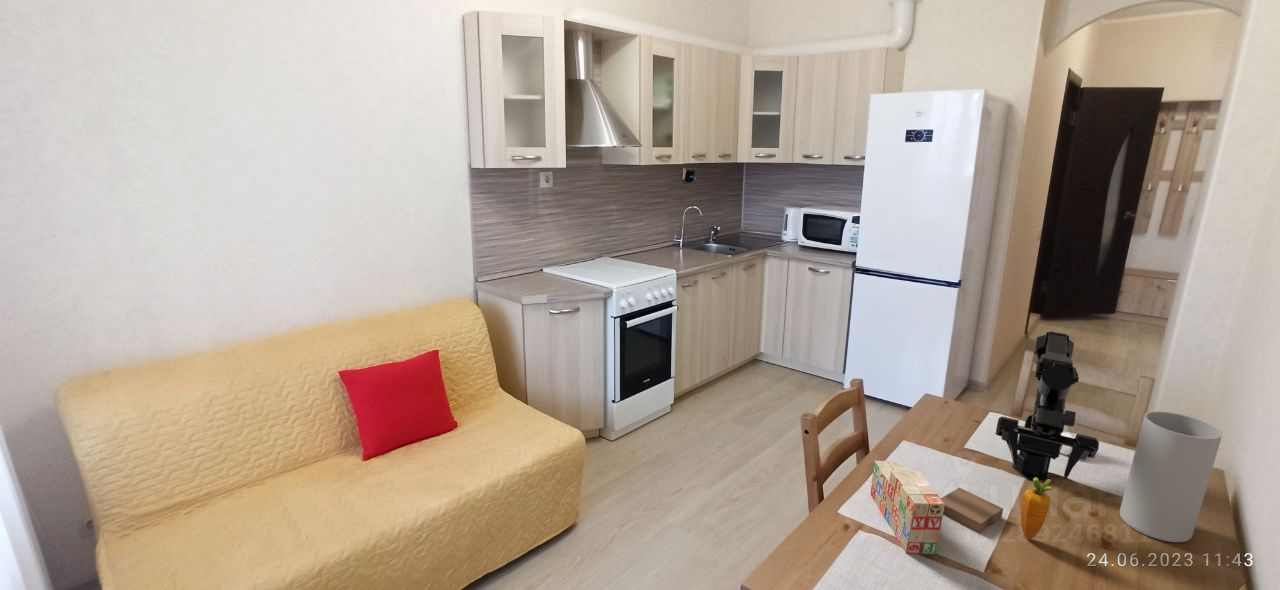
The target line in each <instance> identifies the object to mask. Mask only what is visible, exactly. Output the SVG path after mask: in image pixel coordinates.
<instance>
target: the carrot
mask: <svg viewBox="0 0 1280 590" xmlns="http://www.w3.org/2000/svg"><path fill="white" fill-rule="evenodd" d="M1032 481H1033V489H1032V488H1031V489H1026V490H1025V492H1024V494H1023V496H1022V502H1021V508H1020V509H1021V510H1020V525H1021V529H1022V532H1023V534H1024V537H1025V538H1026V539H1027V541H1030V540H1032V539H1033V538H1035V537H1036V536H1037V535H1038V534H1039V533H1040V531H1041V529H1042V527H1043V525H1044V523H1045V521H1046V519H1047V515H1048V513H1049V508H1050V505H1051V497H1050V496H1049V495H1048V494H1047V493H1045V492H1047V491H1052V490H1053V487H1052V486H1048V485H1049V484H1050V483H1051V482H1052V479H1046V480H1045V482H1044V483H1043V485H1042V486H1041V483H1040V479H1038V478H1036V477H1035V478H1033V479H1032Z"/></svg>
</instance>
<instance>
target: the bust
mask: <svg viewBox="0 0 1280 590" xmlns="http://www.w3.org/2000/svg"><path fill="white" fill-rule="evenodd" d="M1070 427H1071V426H1066V425H1064V430H1063V433H1061V436H1066V437H1070V438H1074V439H1075V437H1076V435H1075V434H1074V433H1072V432H1070V431H1069V428H1070ZM1071 428H1072V427H1071ZM1071 451H1072V447H1070V446H1066V445H1062V447H1061V450H1060V454H1061V455H1065V456H1068V455H1070V453H1071Z"/></svg>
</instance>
